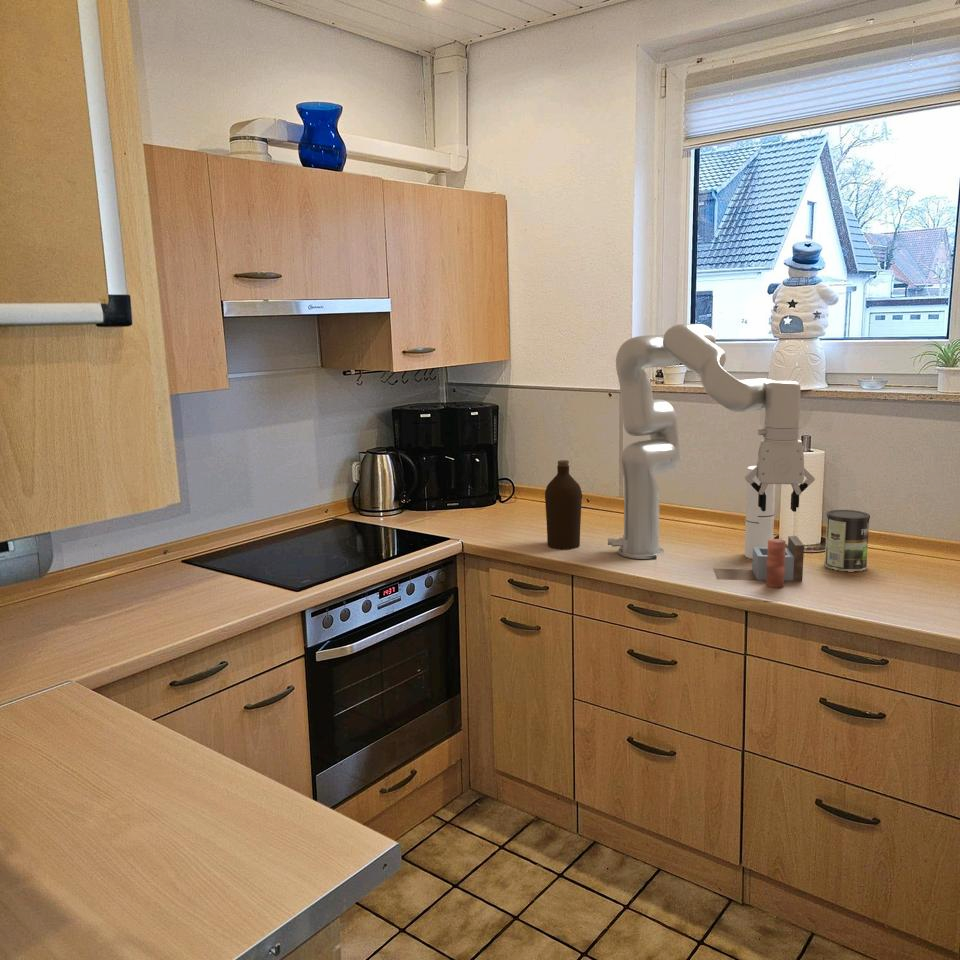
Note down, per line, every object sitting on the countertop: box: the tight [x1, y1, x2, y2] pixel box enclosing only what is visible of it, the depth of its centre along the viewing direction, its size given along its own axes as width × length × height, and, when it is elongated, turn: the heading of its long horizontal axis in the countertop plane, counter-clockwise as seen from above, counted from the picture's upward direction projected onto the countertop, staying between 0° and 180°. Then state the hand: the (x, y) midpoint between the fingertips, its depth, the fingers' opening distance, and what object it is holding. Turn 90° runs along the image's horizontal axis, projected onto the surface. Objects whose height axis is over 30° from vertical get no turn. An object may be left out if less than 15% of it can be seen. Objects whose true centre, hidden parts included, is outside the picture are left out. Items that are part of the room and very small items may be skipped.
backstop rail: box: [713, 535, 805, 583], centre depth 211 cm, size 20×9×10 cm, turn 80°
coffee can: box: [823, 509, 871, 573], centre depth 219 cm, size 10×10×14 cm
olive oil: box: [544, 459, 583, 550], centre depth 245 cm, size 11×11×25 cm
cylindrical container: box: [744, 465, 776, 560], centre depth 227 cm, size 7×7×25 cm
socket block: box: [751, 547, 795, 582], centre depth 211 cm, size 8×8×6 cm
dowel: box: [765, 538, 787, 589], centre depth 202 cm, size 4×4×12 cm
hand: (778, 509), depth 200 cm, fingers open, 6 cm apart
